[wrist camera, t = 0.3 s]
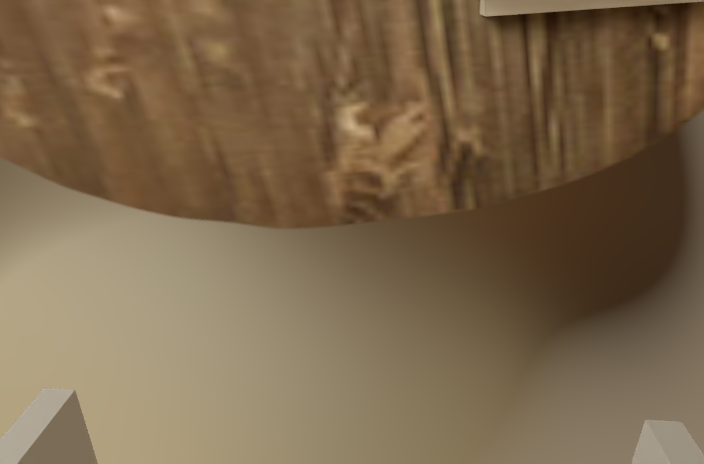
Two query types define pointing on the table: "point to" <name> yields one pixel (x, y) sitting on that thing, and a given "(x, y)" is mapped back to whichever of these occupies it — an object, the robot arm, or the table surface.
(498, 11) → the keyhole plate
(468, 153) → the table surface
